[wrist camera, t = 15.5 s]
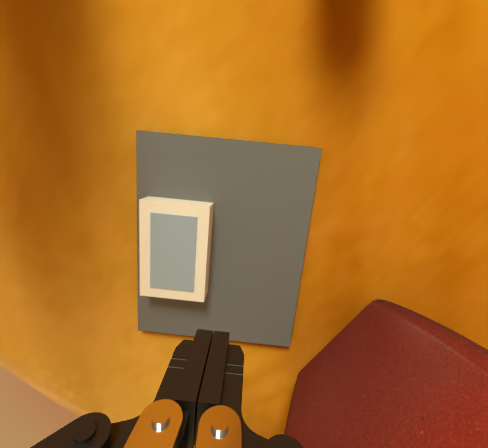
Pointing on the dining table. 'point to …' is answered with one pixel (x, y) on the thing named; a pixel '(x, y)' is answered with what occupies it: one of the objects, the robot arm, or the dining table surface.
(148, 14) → the dining table surface
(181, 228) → the card box
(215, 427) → the robot arm
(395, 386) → the plant pot
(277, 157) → the mat
